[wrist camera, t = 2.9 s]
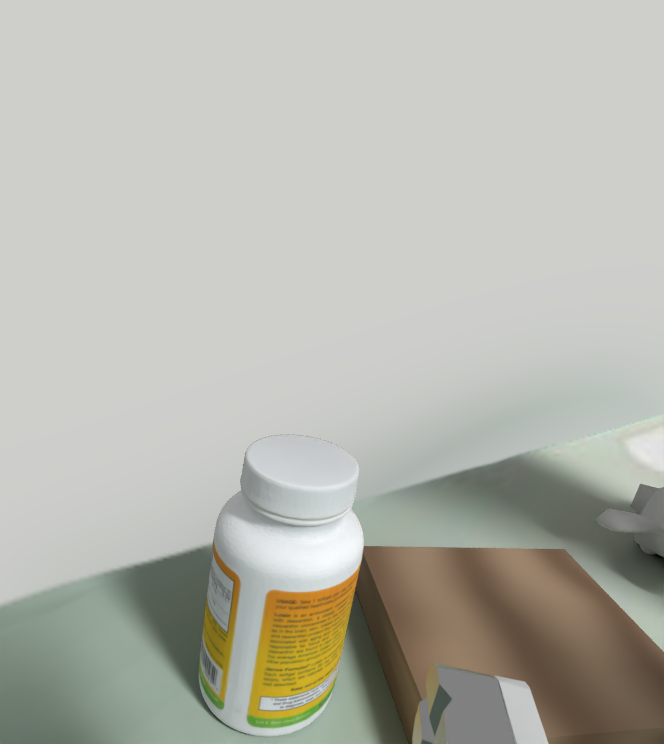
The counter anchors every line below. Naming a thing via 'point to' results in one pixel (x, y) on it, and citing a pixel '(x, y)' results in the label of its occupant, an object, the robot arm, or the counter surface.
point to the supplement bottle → (281, 586)
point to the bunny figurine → (640, 519)
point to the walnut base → (515, 636)
